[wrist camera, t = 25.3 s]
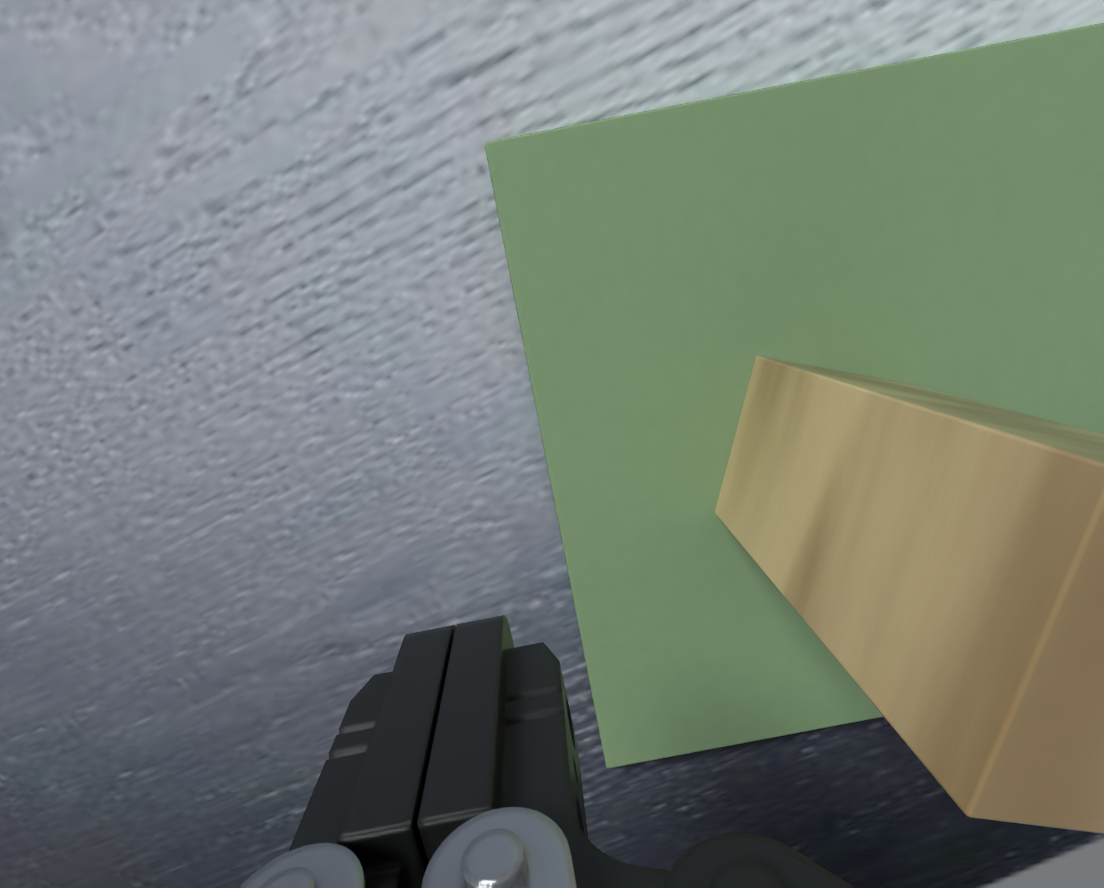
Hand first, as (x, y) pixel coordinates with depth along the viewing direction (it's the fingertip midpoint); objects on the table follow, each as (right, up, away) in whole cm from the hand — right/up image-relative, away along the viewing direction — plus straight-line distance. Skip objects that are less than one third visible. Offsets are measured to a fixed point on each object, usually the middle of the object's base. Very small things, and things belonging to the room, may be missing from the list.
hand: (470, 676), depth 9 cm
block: (+8, +3, +7) cm, 11 cm away
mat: (+11, +4, +8) cm, 14 cm away
